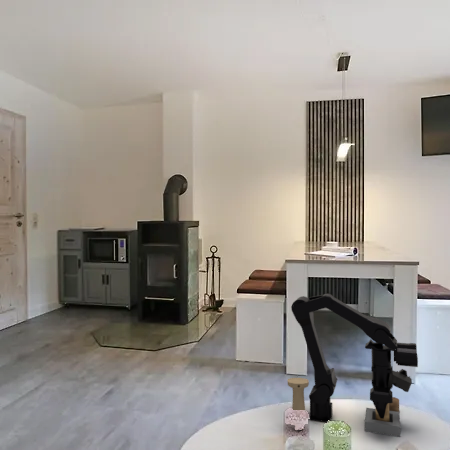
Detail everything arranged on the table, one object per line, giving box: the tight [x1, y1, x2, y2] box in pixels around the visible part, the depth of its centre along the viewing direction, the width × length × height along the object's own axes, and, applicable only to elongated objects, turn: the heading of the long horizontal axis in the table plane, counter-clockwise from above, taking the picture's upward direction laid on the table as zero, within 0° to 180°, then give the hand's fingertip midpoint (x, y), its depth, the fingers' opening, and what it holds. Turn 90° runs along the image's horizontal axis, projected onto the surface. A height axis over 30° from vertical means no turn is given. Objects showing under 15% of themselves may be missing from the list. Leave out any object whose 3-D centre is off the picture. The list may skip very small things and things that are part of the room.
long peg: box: [374, 403, 389, 422], centre depth 131 cm, size 4×4×8 cm
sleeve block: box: [364, 407, 401, 438], centre depth 131 cm, size 10×10×3 cm
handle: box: [287, 377, 310, 411], centre depth 131 cm, size 5×6×15 cm
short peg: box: [389, 396, 400, 412], centre depth 142 cm, size 4×4×4 cm
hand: (382, 413), depth 131 cm, fingers open, 6 cm apart
